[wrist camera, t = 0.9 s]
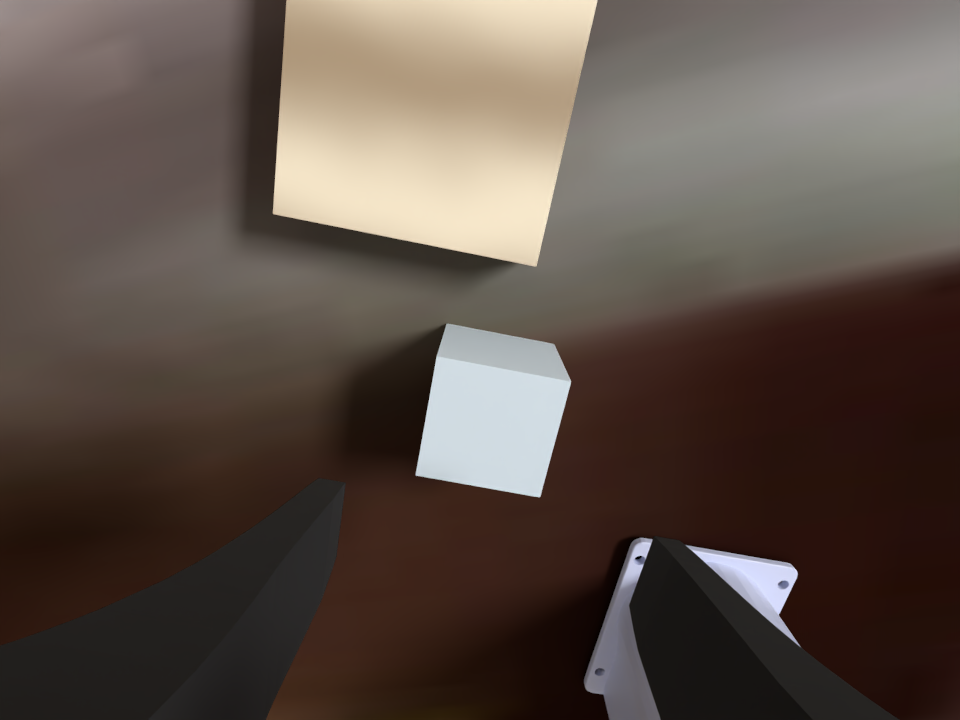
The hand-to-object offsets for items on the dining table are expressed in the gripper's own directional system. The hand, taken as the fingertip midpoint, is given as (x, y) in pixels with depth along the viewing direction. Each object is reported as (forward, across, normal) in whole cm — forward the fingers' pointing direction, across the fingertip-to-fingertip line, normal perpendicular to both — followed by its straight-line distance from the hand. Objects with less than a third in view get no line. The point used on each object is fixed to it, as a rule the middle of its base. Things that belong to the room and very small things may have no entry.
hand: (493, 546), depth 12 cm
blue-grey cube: (+10, 0, 0) cm, 10 cm away
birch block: (+11, +4, -10) cm, 15 cm away
